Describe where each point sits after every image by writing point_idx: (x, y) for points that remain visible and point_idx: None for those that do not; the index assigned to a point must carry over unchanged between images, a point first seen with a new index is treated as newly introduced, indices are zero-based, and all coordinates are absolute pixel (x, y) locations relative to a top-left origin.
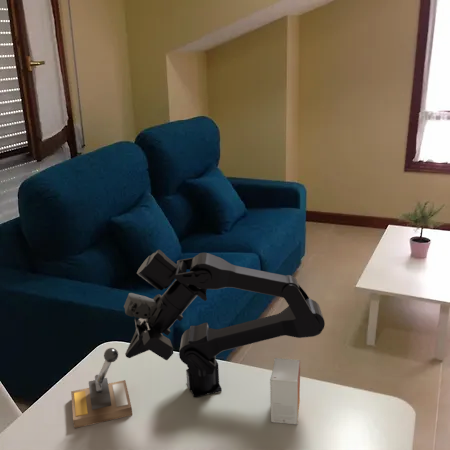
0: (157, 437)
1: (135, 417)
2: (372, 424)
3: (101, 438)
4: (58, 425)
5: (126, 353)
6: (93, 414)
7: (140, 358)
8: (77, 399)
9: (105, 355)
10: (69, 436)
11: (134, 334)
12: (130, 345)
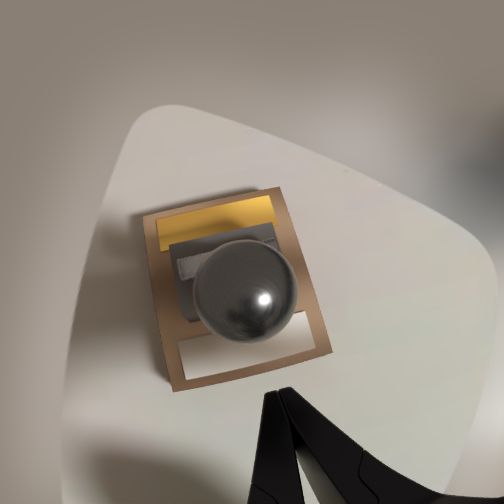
0: (85, 452)
1: (167, 399)
2: None
3: (97, 305)
4: (170, 188)
5: (275, 399)
6: (155, 269)
7: (457, 366)
8: (234, 209)
9: (211, 252)
10: (123, 223)
11: (394, 479)
12: (307, 439)
